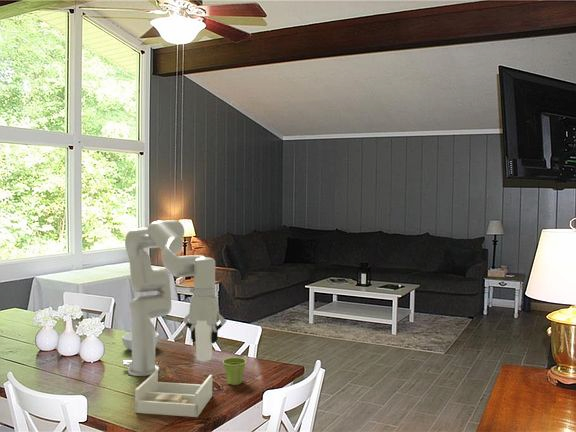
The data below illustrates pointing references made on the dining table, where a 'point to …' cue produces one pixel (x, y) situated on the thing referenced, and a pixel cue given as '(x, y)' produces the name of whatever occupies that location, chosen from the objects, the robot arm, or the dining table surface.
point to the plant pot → (234, 370)
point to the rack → (190, 392)
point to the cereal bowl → (128, 340)
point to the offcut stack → (170, 398)
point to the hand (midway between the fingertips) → (204, 341)
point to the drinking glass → (203, 340)
